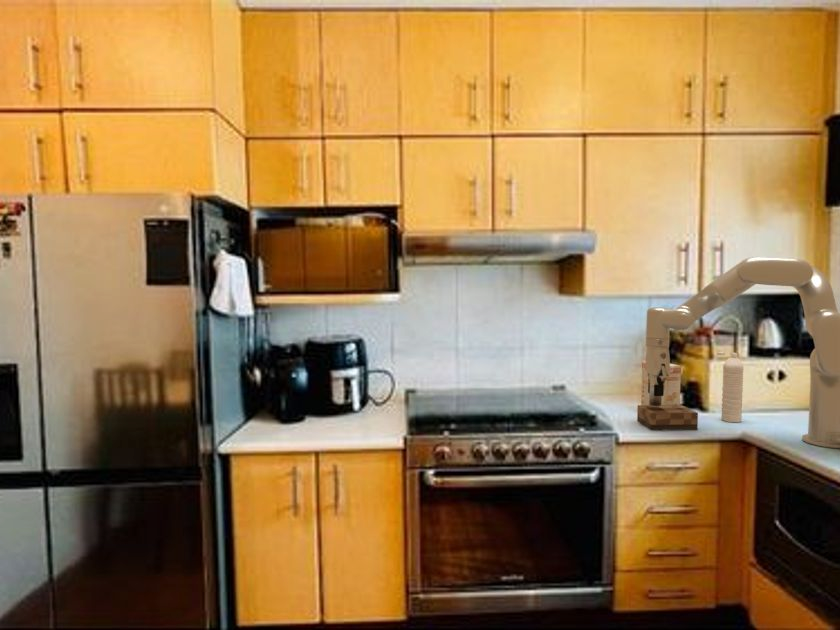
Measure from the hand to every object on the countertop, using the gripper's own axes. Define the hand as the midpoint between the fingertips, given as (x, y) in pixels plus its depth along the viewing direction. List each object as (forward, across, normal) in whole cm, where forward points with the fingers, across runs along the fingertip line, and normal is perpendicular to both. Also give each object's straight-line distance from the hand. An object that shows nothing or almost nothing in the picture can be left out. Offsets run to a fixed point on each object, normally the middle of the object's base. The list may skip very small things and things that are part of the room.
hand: (655, 394), depth 203 cm
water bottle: (+11, +7, -30) cm, 33 cm away
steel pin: (+4, 0, 0) cm, 4 cm away
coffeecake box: (+12, +19, -10) cm, 24 cm away
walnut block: (+11, 0, -4) cm, 12 cm away
